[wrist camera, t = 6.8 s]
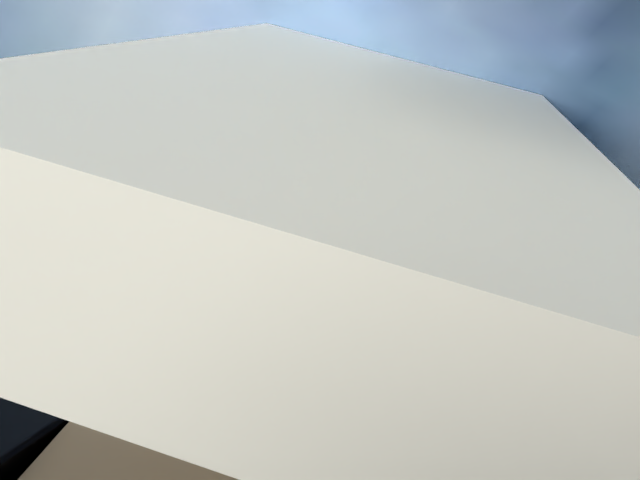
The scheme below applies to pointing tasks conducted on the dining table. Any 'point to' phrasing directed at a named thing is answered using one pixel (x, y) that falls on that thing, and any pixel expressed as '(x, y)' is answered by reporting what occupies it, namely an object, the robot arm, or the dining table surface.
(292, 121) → the domino
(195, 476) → the domino
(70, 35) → the dining table surface
